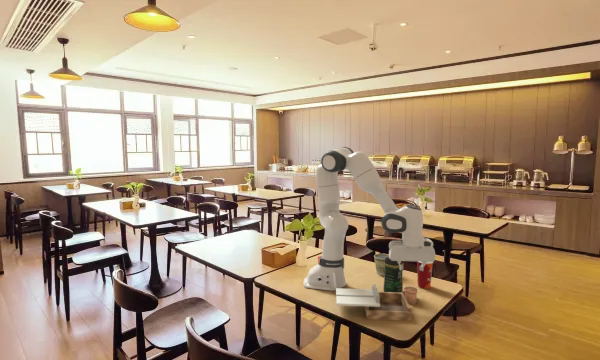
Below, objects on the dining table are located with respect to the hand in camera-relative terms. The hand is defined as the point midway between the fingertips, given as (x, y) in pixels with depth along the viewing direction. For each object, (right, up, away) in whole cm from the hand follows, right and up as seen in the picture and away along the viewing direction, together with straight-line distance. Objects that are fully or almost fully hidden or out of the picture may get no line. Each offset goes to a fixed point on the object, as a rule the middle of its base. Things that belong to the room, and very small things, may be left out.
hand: (411, 270), depth 157 cm
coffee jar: (-5, -14, +12) cm, 19 cm away
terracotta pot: (0, -15, +2) cm, 15 cm away
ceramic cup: (-3, -12, +36) cm, 38 cm away
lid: (-26, -11, -7) cm, 29 cm away
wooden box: (-14, -16, -7) cm, 22 cm away
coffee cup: (+13, -14, +18) cm, 26 cm away
